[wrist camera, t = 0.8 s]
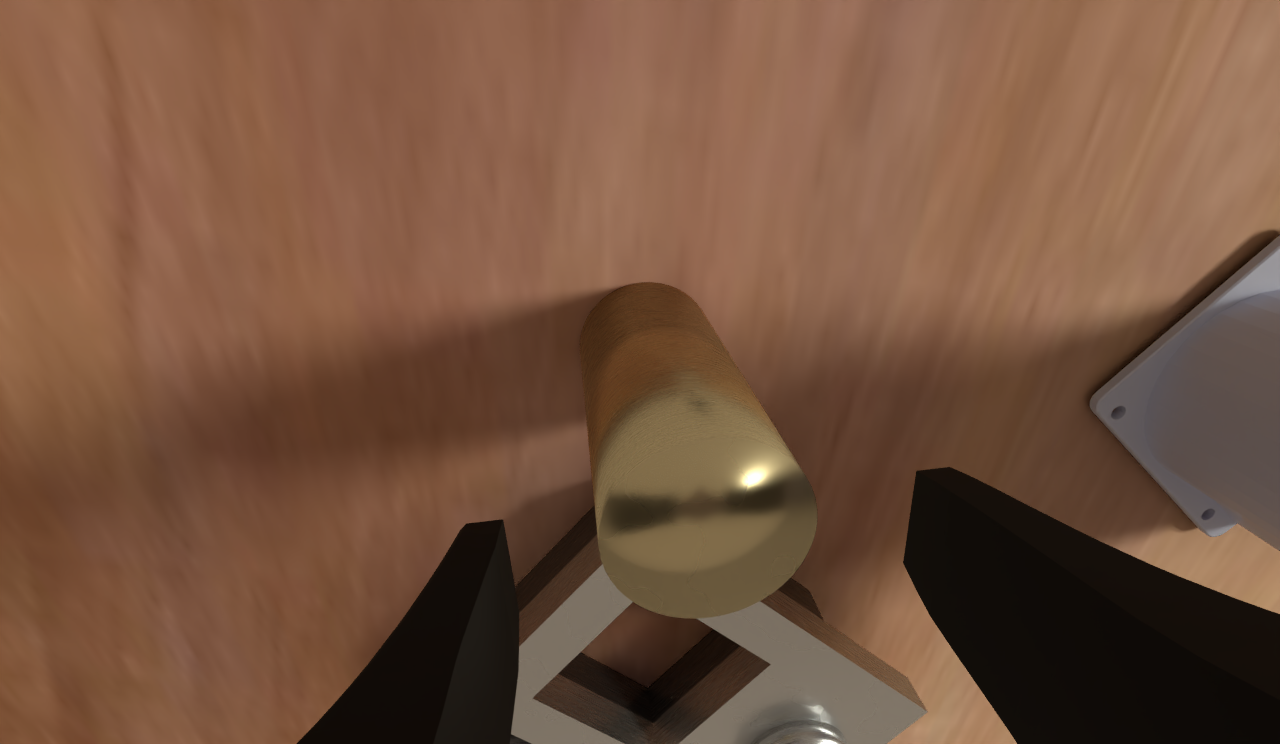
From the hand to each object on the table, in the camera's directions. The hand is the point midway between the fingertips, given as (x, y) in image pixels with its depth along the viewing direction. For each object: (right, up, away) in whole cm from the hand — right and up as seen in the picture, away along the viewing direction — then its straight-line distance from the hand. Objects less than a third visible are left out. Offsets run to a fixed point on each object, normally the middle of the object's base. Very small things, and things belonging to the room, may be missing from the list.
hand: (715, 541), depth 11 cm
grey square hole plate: (+1, -7, +14) cm, 16 cm away
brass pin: (-1, +4, +9) cm, 9 cm away
